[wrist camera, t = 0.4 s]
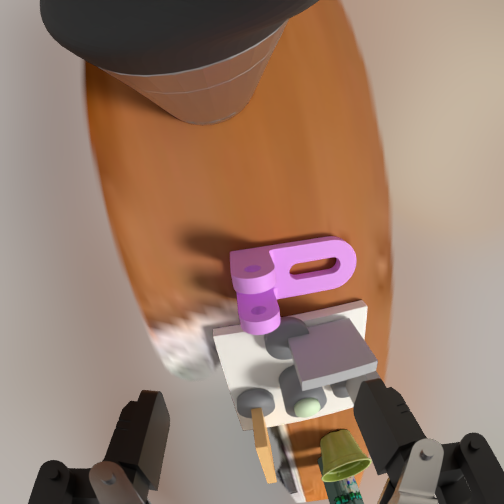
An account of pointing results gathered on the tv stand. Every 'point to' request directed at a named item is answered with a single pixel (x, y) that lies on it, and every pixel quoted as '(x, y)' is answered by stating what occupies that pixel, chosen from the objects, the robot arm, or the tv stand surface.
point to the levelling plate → (300, 362)
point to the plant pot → (341, 456)
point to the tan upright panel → (259, 425)
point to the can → (342, 490)
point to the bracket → (284, 277)
